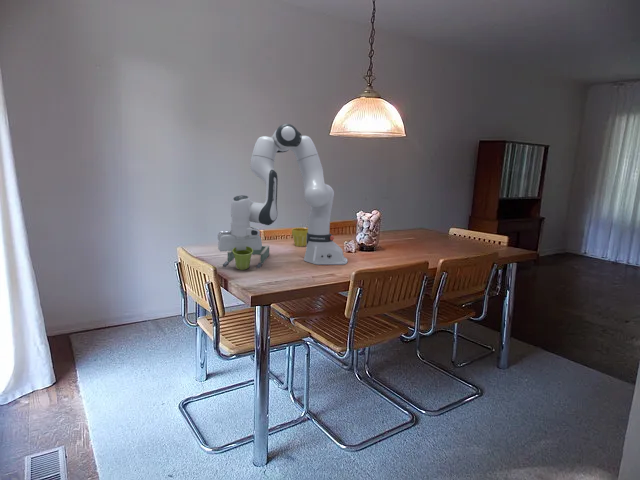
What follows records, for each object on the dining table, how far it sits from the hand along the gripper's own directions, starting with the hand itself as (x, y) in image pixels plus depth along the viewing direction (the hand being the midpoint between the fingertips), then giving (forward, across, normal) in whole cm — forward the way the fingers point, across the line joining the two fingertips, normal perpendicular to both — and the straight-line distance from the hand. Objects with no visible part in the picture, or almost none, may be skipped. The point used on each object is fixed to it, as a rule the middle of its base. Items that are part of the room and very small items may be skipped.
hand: (240, 259), depth 206 cm
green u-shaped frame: (+4, +8, +16) cm, 18 cm away
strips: (+3, +1, +1) cm, 4 cm away
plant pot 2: (+4, +44, +41) cm, 61 cm away
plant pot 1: (+3, 0, -4) cm, 5 cm away
